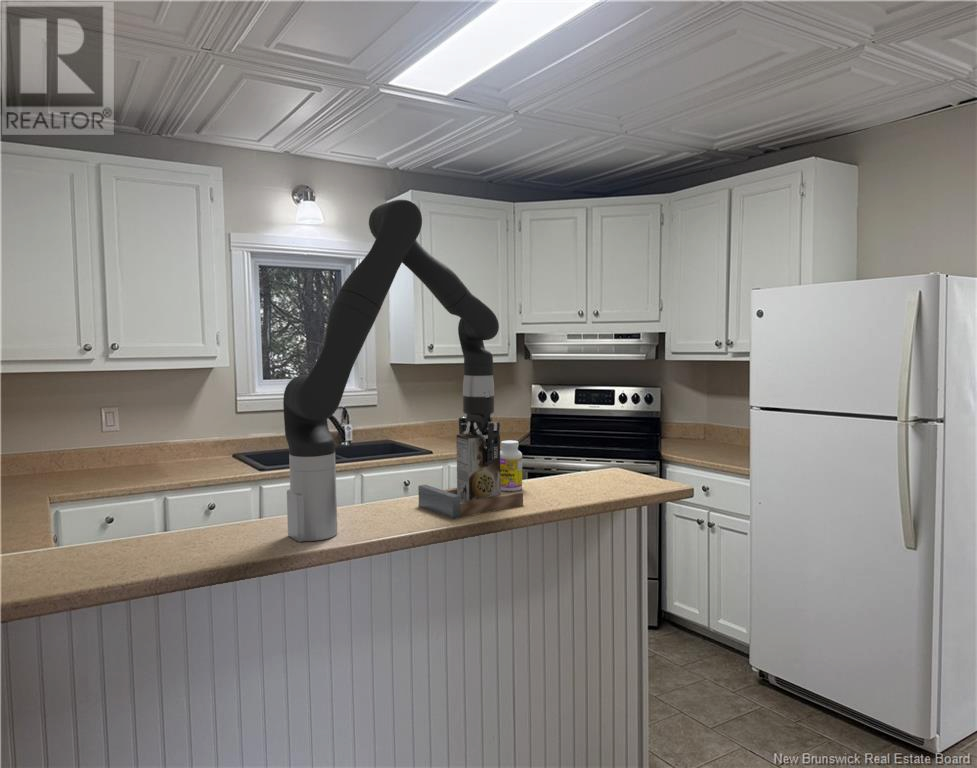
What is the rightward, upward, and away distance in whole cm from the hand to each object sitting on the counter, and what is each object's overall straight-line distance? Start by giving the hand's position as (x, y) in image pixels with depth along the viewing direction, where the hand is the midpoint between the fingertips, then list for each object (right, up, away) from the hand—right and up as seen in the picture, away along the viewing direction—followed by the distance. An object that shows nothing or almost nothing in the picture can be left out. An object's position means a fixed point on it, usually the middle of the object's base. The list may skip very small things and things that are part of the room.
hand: (478, 462), depth 166 cm
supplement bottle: (+8, -9, +17) cm, 21 cm away
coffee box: (0, -10, +1) cm, 10 cm away
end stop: (-9, -11, -6) cm, 16 cm away
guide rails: (-1, -10, 0) cm, 10 cm away
